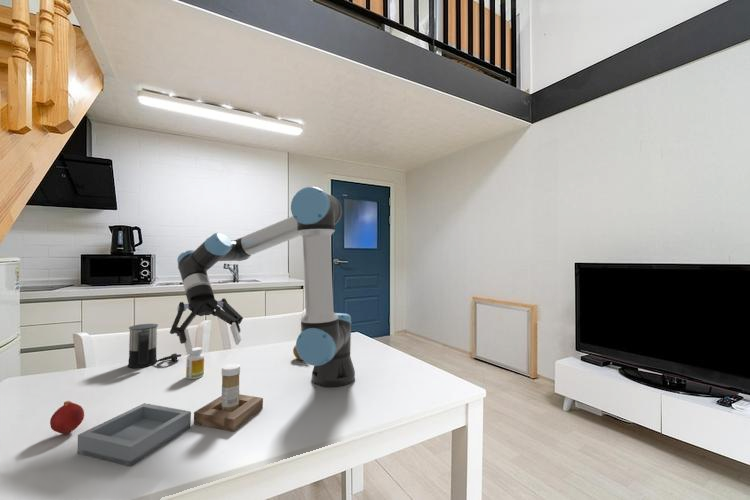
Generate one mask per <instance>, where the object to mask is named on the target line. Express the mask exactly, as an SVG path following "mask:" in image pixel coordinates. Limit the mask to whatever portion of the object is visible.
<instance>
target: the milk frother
mask: <svg viewBox="0 0 750 500" xmlns="http://www.w3.org/2000/svg"><path fill="white" fill-rule="evenodd" d="M158 326H159V324H157V323H143V324H141V323H140V324H136V325H135V324H134V325H132V326H128V329H129V340H128V341H129V343H128V345H129V347H128V364H127V367H128V368H130V369H131V368H132V369H136V368H139V369H140V368H146V367H150V366H152V365H155V364H156V363H158V362H162V361H163V362H164V361H167V360H171V361H172V362H173V361H174V362H175V361H176V360H178V358H180V357H182V354H177V353H176V352H175V353H173V354H170V355H168V356H165V357H162V358H159V359H157V345H158V344H157V343H158V341H157V338H158V336H157V335H158Z"/></svg>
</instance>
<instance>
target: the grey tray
mask: <svg viewBox="0 0 750 500" xmlns="http://www.w3.org/2000/svg"><path fill="white" fill-rule="evenodd" d="M191 418H192V412H191V411H190V410H185V409H179V408H173V407H167V406H162V405H161V406H160V405H157V404H156V405H155V404H150V403H144V402H143V403H142V404H140V405H139V404H138V406H135V407H134V408H131V409H129V410H127V411H125V412H123V413H121V414H118V415H116V416H115V417H112V418H111V419H107V420H105V421H104V422H102V423H99V424H97V425H95V426H93V427H92V428H89V429H86V430H85V431H83V432H81V433H79V434H78V435H77V448H76V449H77V451H76V452H77V454H79V455H83V456H87V457H90V458H95V459H98V460H103V461H107V462H110V463H111V462H112V463H116V464H119V465H124V466H128V467H132V466H134V465H135V464H136V463H138V462H140V461H141V460H143V459H145V458H146V457H147V456H149V455H150V454H152V453H153V452H155V451H156V450H158V449H160V448H161V447H163V446H165V445H166V444H168V443H169V442H170V441H172V440H174V439H175V438H176V437H178V436H180V435H182V434H183V433H184V432H186V431H188V430H190V428H191V424H192V422H191Z"/></svg>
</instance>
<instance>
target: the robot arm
mask: <svg viewBox="0 0 750 500" xmlns="http://www.w3.org/2000/svg"><path fill="white" fill-rule="evenodd" d="M290 211H291V215H292V216H290V217H287V218H285V219H282V220H280V221H278V222H275V223H273V224H270V225H268V226H266V227H263V228H261V229H258V230H256V231H253V232H251V233H248V234H246V235H244V236H242V237H239V238H236V239H234V240H231V239H230V238H229V237H228V236H226V234H223V233H222V232H215V233H213V234H211V235H210V236H209V237H208V238H206V239H205V240H204V241H203V242H202V243H201V244H200V245H199V246H197V248H196V249H195V250H193V249H192V250H186V251H185V252H182V253H180V254H179V255H178V257H177V259H176V260H177V269H178V271H179V273H180V277H181V280H182V285H183V288H184V292H185V297H186V300H187V303H184V302H183V301H181V302H179V304H178V306H177V314H176V316H175V318H174V321H173V324H172V325H171V328H170V331H169V334H171V335H174V334H176V336H177V337H178V340H179V343H180V344H184V348H185V350H186V351H185V352H186V355H188V356H189V355H190V353H191V351H192V349H193V348H194V347H193V345H192V341H191V338H190V334H189V329H187V328H188V327H189V325H190V324H191V323H192V322H193V320H194V319H195V318H196V316H199V317H204V316H211V315H212V316H213V317H217V318H218V319H221V320H222V321H223V322H226V323H227V324H228V325H230V327H229V329H230V331H231V334H232V337H233V340H234V342H235V345H236V346H238V345H239V344H240V343H241V341H242V338H241V335H240V333H241V328H240V324H241V323H242V321H243V319H244V317H243V316H242V315H241V314H240V313H239V312H237V310H236V309H235V308H234V307H232V305H230V304H229V302H228V301H227V298H225V297H223V298H222V299H221V300H216V298H215V294H214V292H213V288H212V284H211V281H210V279H209V276H208V272H207V271H208V270H210V269H211V268H212V267H213V266H215V264H217V263H219V262H233V261H235V262H242V261H246V260H248V259H249V258H250V257H251V256H253V255H255V254H257V253H261V252H263V251H265V250H269V249H270V248H273V247H276V246H279V245H281V244H282V243H285V242H288V241H290V240H293V239H295V238H298V237H300V236H301V237H302V245H303V247H302V249H303V251H302V252H303V276H304V278H303V279H304V300H305V301H304V302H305V303H304V305H305V314H304V316H303V317H302V318H301V319H300V328H301V330H300V331H301V332H300V333H299V335H298V336H297V338H296V341H295V342H296V343H295V345H296V350H297V353H298V355H299V357H300V358H301V359H302V360H301V361H303V362H304V363H306V364H307V365H310V366H313V370H312V371H311V380H312V383H314V384H316V385H318V386H322V387H329V388H331V387H333V388H337V387H341V386H342V387H343V386H346V385H349V384H351V383H353V381H354V380H355V378H356V371H355V367H354V363H353V360H352V357H351V348H352V347H351V345H352V343H351V339H352V337H351V336H352V316H351V315H350V314H349V313H343V312H342V313H341V312H335V310H334V295H333V293H334V292H333V271H332V269H333V268H332V245H331V243H332V242H331V236H332V235H333V234H334V233H335V231H336V226H335V225H336V224H338V223H339V221H340V219H341V217H342V213H343V210H342V205H341V202H340V201H339V200H338V199H337V198H336V197H335V196H333V195H332V194H330V193H328V192H326V190H324V189H322V188H320V187H316V186H306V187H303V188H301V189H300V190H298V191H297V192H296V193H295V195H294V196H293V197H292V200H291V203H290ZM187 309H188V310H189V311H191V313H190V314H189V315H188V316H187V317H186V319H185V320H184V321H183V323H182V324H181V325H180V326H178V325H179V323H180V320H181V318H182V316H183V313H184V312H185V311H186V310H187Z"/></svg>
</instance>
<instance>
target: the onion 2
mask: <svg viewBox="0 0 750 500" xmlns="http://www.w3.org/2000/svg"><path fill="white" fill-rule="evenodd" d="M292 351H293V355H294V357H295V358H296V359H297V360H299V361H303V360H302V359H301V358H300V357H299V355H298V353H297V350H296V344H295V345H294V346H293V349H292Z"/></svg>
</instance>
